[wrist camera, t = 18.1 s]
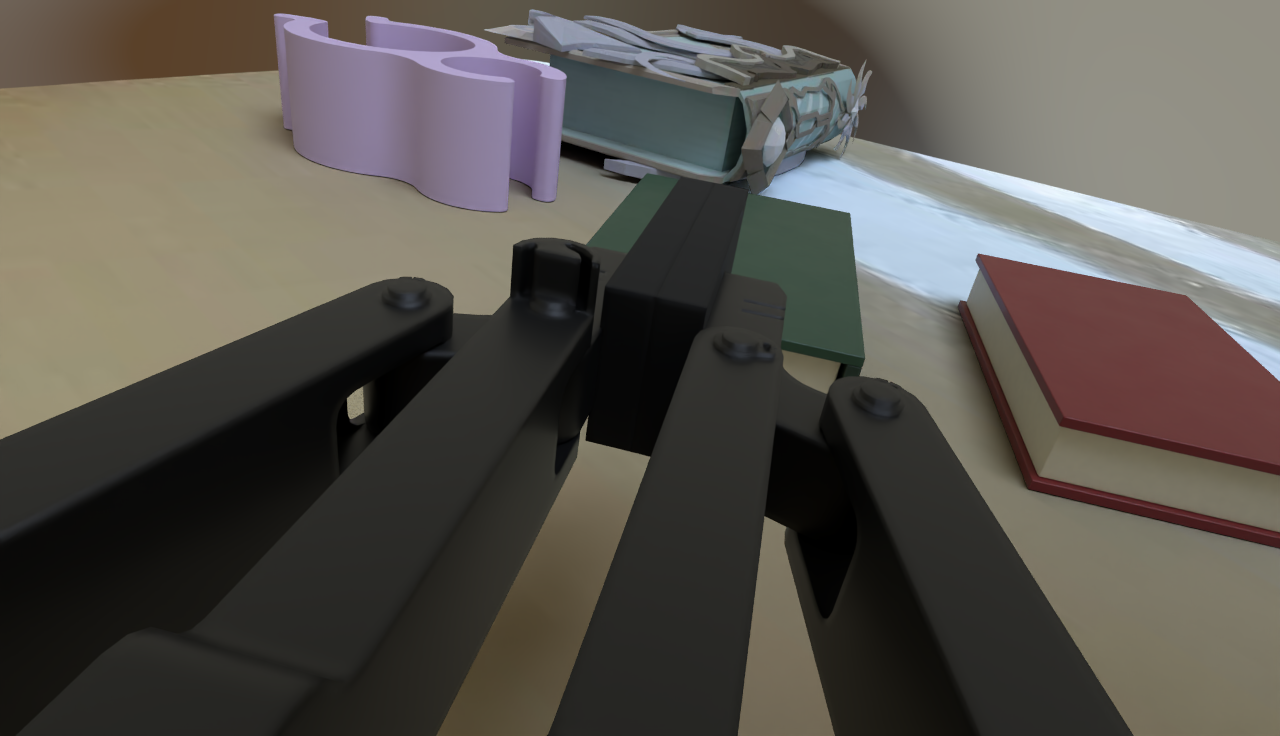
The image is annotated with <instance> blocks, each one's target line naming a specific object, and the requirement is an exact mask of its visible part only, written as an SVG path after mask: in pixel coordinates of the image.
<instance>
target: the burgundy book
mask: <svg viewBox="0 0 1280 736" xmlns="http://www.w3.org/2000/svg"><path fill="white" fill-rule="evenodd" d="M976 263H977V265H978V266H979V268H980V269H979V271H978V274H977V277H976V279H975V282H974V284H973V287H972V289H971V292H970V295H969V297H968V300H967V302H966V301H960V302H959V305H958V309H959V311H960V314H961V316H962V319H963V322H964V324H965V327H966V329H967V332H968V334H969V337H970V340H971V342H972V345H973V347H974V350H975V353H976V355H977V358H978V360H979V363H980V366H981V368H982V371H983V373H984V376H985V379H986V381H987V384H988V386H989V389H990V391H991V394H992V397H993V399H994V402H995V404H996V407H997V410H998V412H999V415H1000V417H1001V420H1002V423H1003V425H1004V428H1005V430H1006V433H1007V435H1008V438H1009V441H1010V443H1011V446H1012V448H1013V451H1014V454H1015V456H1016V459H1017V461H1018V464H1019V467H1020V469H1021V472H1022V474H1023V477H1024V479H1025V482H1026V485H1027V487H1028V489H1031V490H1035V491H1039V492H1043V493H1048V494H1052V495H1056V496H1061V497H1065V498H1069V499H1073V500H1078V501H1082V502H1086V503H1090V504H1095V505H1099V506H1103V507H1107V508H1112V509H1116V510H1120V511H1124V512H1129V513H1133V514H1137V515H1141V516H1146V517H1150V518H1154V519H1158V520H1163V521H1167V522H1171V523H1175V524H1180V525H1184V526H1188V527H1192V528H1197V529H1201V530H1205V531H1209V532H1214V533H1218V534H1222V535H1227V536H1231V537H1235V538H1239V539H1244V540H1248V541H1252V542H1256V543H1261V544H1265V545H1269V546H1273V547H1278V548H1280V381H1278V380H1277V379H1276V378H1275V377H1274V376H1273V375H1272V374H1271V373H1270V372H1269V371H1268V370H1267V369H1265V368H1264V367H1263V366H1262V365H1261V364H1260V363H1259V362H1258V361H1257V360H1256V359H1255V358H1254V357H1252V356H1251V355H1250V354H1249V353H1248V352H1247V351H1246V350H1245V349H1244V348H1243V347H1242V346H1240V345H1239V344H1238V343H1237V342H1236V341H1235V340H1234V339H1233V338H1232V337H1231V336H1230V335H1229V334H1227V333H1226V332H1225V331H1224V330H1223V329H1222V328H1221V327H1220V326H1219V325H1218V324H1217V323H1216V322H1214V321H1213V320H1212V319H1211V318H1210V317H1209V316H1208V315H1207V314H1206V313H1205V312H1204V311H1203V310H1201V309H1200V308H1199V307H1198V306H1197V305H1196V304H1195V303H1194V302H1193V301H1192V300H1191V299H1189V298H1188V297H1187V296H1186V295H1181V294H1176V293H1171V292H1166V291H1161V290H1156V289H1151V288H1146V287H1141V286H1136V285H1131V284H1126V283H1121V282H1117V281H1112V280H1107V279H1102V278H1097V277H1092V276H1087V275H1082V274H1077V273H1072V272H1067V271H1062V270H1057V269H1052V268H1047V267H1042V266H1037V265H1032V264H1027V263H1022V262H1017V261H1012V260H1007V259H1003V258H998V257H993V256H988V255H983V254H978V255H977V258H976Z"/></svg>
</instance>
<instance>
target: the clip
mask: <svg viewBox="0 0 1280 736" xmlns="http://www.w3.org/2000/svg"><path fill="white" fill-rule="evenodd" d="M274 22H275V33H276V45H277V56H278V67H279V78H280V89H281V100H282V111H283V122H284V128H286V129H290V130H292V131H293V142H294V148H295V150H296V151H297V152H298V153H299V154H301V155H302V156H304V157H305V158H307V159H309V160H311V161H314V162H316V163H319V164H322V165H325V166H328V167H332V168H336V169H340V170H344V171H349V172H355V173H361V174H368V175H376V176H384V177H390V178H394V179H398V180H402V181H405V182H407V183H409V184H411V185H413V186H415V187H416V188H417V189H418V190H419V191H420V192H421V193H422V194H423V195H425V196H427V197H429V198H431V199H433V200H435V201H438V202H441V203H444V204H448V205H451V206H456V207H460V208H466V209H472V210H480V211H492V212H504V211H507V210H508V192H509V178H511V179H515V180H518V181H520V182H523V183H525V184H527V185H528V186H530V187H531V188H532V198H534V199H536V200H540V201H545V202H551V201H554V200H555V199H556V194H557V182H558V170H559V159H560V147H561V136H562V124H563V112H564V101H565V89H566V78H567V76H566V74H565V73H564V72H562V71H560V70H558V69H556V68H553V67H550V66H547V65H544V64H540V63H536V62H532V61H528V60H523V59H518V58H514V57H510V56H506V55H504V54H502V53H500V52H498V51H497V47H496V45H494V44H492V43H491V42H489V41H486V40H484V39H481V38H478V37H474V36H471V35H467V34H463V33H459V32H455V31H450V30H444V29H439V28H434V27H427V26H421V25H414V24H407V23H399V22H392V21H388V18H383V17H376V16H367V18H366V42H367V43H366V45H367V46H366V45H359V44H354V43H348V42H344V41H338V40H335V39H331V38H328V23H327V21H324V20H319V19H315V18H309V17H302V16H296V15H289V14H274Z"/></svg>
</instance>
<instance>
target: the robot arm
mask: <svg viewBox="0 0 1280 736" xmlns="http://www.w3.org/2000/svg"><path fill="white" fill-rule="evenodd" d="M748 192H749V190H748V189H743V188H738V187H733V186H728V185H723V184H718V183H713V182H708V181H703V180H698V179H693V178H688V177H683V176H681V177H680V179H679V180H678V182H677V183H676V185H675V186H674V187H673V189H672V190H671V192H670V193H669V195H668V196H667V198H666V199H665V200H664V202H663V203H662V205H661V206H660V208H659V209H658V210H657V212H656V213H655V215H654V216H653V218H652V219H651V220H650V222H649V223H648V225H647V226H646V228H645V229H644V231H643V232H642V233H641V235H640V236H639V238H638V239H637V241H636V242H635V243H634V245H633V246H632V248H631V249H630V251H629V252H628V253H623V252H618V251H614V250H609V249H604V248H600V247H595V246H593V247H588V246H586V245H584V244H581V243H578V242H574V241H571V240H565V239H558V238H533V239H528V240H522V241H520V242H519V243H517V244H515V245H513V259H512V275H511V292H510V297H509V298H508V299H507V300H506V301H505V302H504V304H503V305H502V306H501V307H500V308H499V309H498V310H497V311H496V312H495V313H494V314H493V315H471V314H456V313H453V298H454V296H453V295H452V294H451V292H450V291H449V290H448V289H447V288H445V287H443V286H441V285H439V284H437V283H434V282H430V281H426V280H425V279H423V278H416V277H414V278H413V279H412V277H400V278H398V279H387V280H383V281H380V282H376V283H372V284H370V285H367V286H365V287H363V288H360V289H358V290H356V291H353V292H351V293H348V294H346V295H344V296H341V297H339V298H337V299H334V300H332V301H329V302H327V303H325V304H322V305H320V306H317V307H315V308H313V309H310V310H308V311H306V312H303V313H301V314H298V315H296V316H294V317H291V318H289V319H287V320H284V321H282V322H279V323H277V324H275V325H272V326H270V327H267V328H265V329H263V330H260V331H258V332H256V333H253V334H251V335H248V336H246V337H244V338H241V339H239V340H236V341H234V342H232V343H229V344H227V345H225V346H222V347H220V348H217V349H215V350H213V351H210V352H208V353H206V354H203V355H201V356H198V357H196V358H194V359H191V360H189V361H186V362H184V363H182V364H179V365H177V366H175V367H172V368H170V369H167V370H165V371H163V372H160V373H158V374H156V375H153V376H151V377H148V378H146V379H144V380H141V381H139V382H136V383H134V384H132V385H129V386H127V387H125V388H122V389H120V390H117V391H115V392H113V393H110V394H108V395H105V396H103V397H101V398H98V399H96V400H94V401H91V402H89V403H86V404H84V405H82V406H79V407H77V408H75V409H72V410H70V411H67V412H65V413H63V414H60V415H58V416H55V417H53V418H51V419H48V420H46V421H44V422H41V423H39V424H36V425H34V426H32V427H29V428H27V429H25V430H22V431H20V432H17V433H15V434H13V435H10V436H8V437H5V438H3V439H1V440H0V736H436V735H437V733H438V731H439V729H440V727H441V725H442V723H443V721H444V719H445V717H446V715H447V713H448V711H449V709H450V707H451V705H452V703H453V701H454V699H455V697H456V695H457V693H458V691H459V689H460V687H461V685H462V683H463V681H464V679H465V677H466V676H467V674H468V672H469V670H470V668H471V666H472V664H473V662H474V660H475V658H476V656H477V654H478V652H479V650H480V648H481V646H482V644H483V642H484V640H485V638H486V636H487V634H488V632H489V630H490V628H491V626H492V624H493V622H494V620H495V618H496V616H497V614H498V612H499V610H500V608H501V606H502V604H503V602H504V600H505V598H506V596H507V594H508V592H509V591H510V589H511V587H512V585H513V583H514V581H515V579H516V577H517V575H518V573H519V571H520V569H521V567H522V565H523V563H524V561H525V559H526V557H527V555H528V553H529V551H530V549H531V547H532V545H533V543H534V541H535V539H536V537H537V535H538V533H539V531H540V529H541V527H542V525H543V523H544V521H545V519H546V517H547V515H548V513H549V511H550V509H551V507H552V506H553V504H554V502H555V500H556V498H557V496H558V494H559V492H560V490H561V488H562V486H563V484H564V482H565V480H566V478H567V476H568V474H569V472H570V470H571V468H572V466H573V464H574V462H575V460H576V458H577V453H578V446H579V438H580V430H581V428H582V426H583V425H584V423H585V421H586V419H587V417H588V424H587V432H586V440H585V441H589V442H593V443H597V444H601V445H606V446H610V447H614V448H618V449H622V450H626V451H630V452H634V453H638V454H642V455H646V456H650V460H649V463H648V465H647V468H646V471H645V474H644V476H643V479H642V482H641V484H640V487H639V490H638V493H637V495H636V498H635V501H634V504H633V506H632V509H631V512H630V514H629V517H628V520H627V523H626V525H625V528H624V531H623V533H622V536H621V539H620V542H619V544H618V547H617V550H616V552H615V555H614V558H613V561H612V563H611V566H610V569H609V572H608V574H607V577H606V580H605V582H604V585H603V588H602V591H601V593H600V596H599V599H598V601H597V604H596V607H595V610H594V612H593V615H592V618H591V621H590V623H589V626H588V629H587V631H586V634H585V637H584V640H583V642H582V645H581V648H580V650H579V653H578V656H577V659H576V661H575V664H574V667H573V669H572V672H571V675H570V678H569V680H568V683H567V686H566V689H565V691H564V694H563V697H562V699H561V702H560V705H559V708H558V710H557V713H556V716H555V718H554V721H553V723H552V726H551V728H550V731H549V733H548V735H547V736H738V728H739V719H740V711H741V703H742V695H743V687H744V678H745V670H746V662H747V654H748V646H749V638H750V629H751V621H752V613H753V605H754V597H755V589H756V580H757V572H758V564H759V556H760V548H761V539H762V531H763V523H764V516H766V517H768V518H770V519H772V520H774V521H776V522H778V523H780V524H782V525H784V526H786V531H785V547H786V551H787V555H788V559H789V563H790V566H791V570H792V574H793V578H794V582H795V585H796V589H797V593H798V597H799V601H800V604H801V608H802V612H803V616H804V620H805V623H806V627H807V631H808V635H809V639H810V642H811V646H812V650H813V654H814V658H815V661H816V665H817V669H818V673H819V676H820V680H821V684H822V688H823V692H824V695H825V699H826V703H827V707H828V711H829V714H830V718H831V722H832V726H833V730H834V733H835V736H1134V735H1133V734H1132V732H1131V731H1130V729H1129V728H1128V726H1127V724H1126V723H1125V721H1124V720H1123V718H1122V717H1121V715H1120V713H1119V712H1118V710H1117V709H1116V707H1115V706H1114V704H1113V702H1112V701H1111V699H1110V698H1109V696H1108V694H1107V693H1106V691H1105V690H1104V688H1103V687H1102V685H1101V683H1100V682H1099V680H1098V679H1097V677H1096V676H1095V674H1094V672H1093V671H1092V669H1091V668H1090V666H1089V665H1088V663H1087V661H1086V660H1085V658H1084V657H1083V655H1082V653H1081V652H1080V650H1079V649H1078V647H1077V646H1076V644H1075V642H1074V641H1073V639H1072V638H1071V636H1070V635H1069V633H1068V631H1067V630H1066V628H1065V627H1064V625H1063V624H1062V622H1061V620H1060V619H1059V617H1058V616H1057V614H1056V612H1055V611H1054V609H1053V608H1052V606H1051V605H1050V603H1049V601H1048V600H1047V598H1046V597H1045V595H1044V594H1043V592H1042V590H1041V589H1040V587H1039V586H1038V584H1037V583H1036V581H1035V579H1034V578H1033V576H1032V575H1031V573H1030V571H1029V570H1028V568H1027V567H1026V565H1025V564H1024V562H1023V560H1022V559H1021V557H1020V556H1019V554H1018V553H1017V551H1016V549H1015V548H1014V546H1013V545H1012V543H1011V541H1010V540H1009V538H1008V537H1007V535H1006V534H1005V532H1004V530H1003V529H1002V527H1001V526H1000V524H999V523H998V521H997V519H996V518H995V516H994V515H993V513H992V512H991V510H990V508H989V507H988V505H987V504H986V502H985V500H984V499H983V497H982V496H981V494H980V493H979V491H978V489H977V488H976V486H975V485H974V483H973V482H972V480H971V478H970V477H969V475H968V474H967V472H966V471H965V469H964V467H963V466H962V464H961V463H960V461H959V459H958V458H957V456H956V455H955V453H954V452H953V450H952V448H951V447H950V445H949V444H948V442H947V441H946V439H945V437H944V436H943V434H942V433H941V431H940V430H939V428H938V426H937V425H936V423H935V422H934V420H933V418H932V417H931V415H930V414H929V412H928V411H927V409H926V407H925V406H924V405H923V404H922V403H921V402H920V401H919V400H918V399H917V398H916V397H915V396H914V395H912V394H911V393H909V392H907V391H906V390H904V389H903V388H901V386H899V385H897V384H895V383H892V382H890V383H888V381H887V380H884V379H880V378H875V379H874V378H869V377H862V376H848V377H844V378H841V379H837V380H835V381H834V382H833V383H832V385H831V386H830V387H829V390H828V393H827V394H826V393H823V392H821V391H818V390H816V389H813V388H811V387H809V386H807V385H805V384H803V383H801V382H800V381H798V380H797V379H795V378H794V377H792V376H791V375H790V374H789V373H788V372H787V371H786V370H785V369H784V367H783V360H784V356H783V353H782V349H781V341H782V333H783V325H784V317H785V309H786V302H787V295H786V294H785V293H784V291H783V290H782V289H781V287H780V286H779V285H778V283H774V282H769V281H765V280H760V279H755V278H750V277H746V276H741V275H736V274H732V273H731V272H732V267H733V262H734V258H735V253H736V248H737V244H738V239H739V234H740V230H741V225H742V220H743V215H744V211H745V206H746V201H747V197H748ZM361 387H363V397H364V413H362V414H361V415H359V416H357V417H356V418H353V419H349V416H348V411H347V398H348V397H349V396H350V395H351V394H352V393H353V392H354V391H356V390H357V389H359V388H361ZM588 415H589V416H588Z"/></svg>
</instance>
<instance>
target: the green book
mask: <svg viewBox="0 0 1280 736" xmlns="http://www.w3.org/2000/svg"><path fill="white" fill-rule="evenodd" d="M678 180H679V179H675V178H670V177H665V176H660V175H655V174H650V173H647V174H646V175H645V176H644V177H643V178H642V179H641V181H640V182H639V183H638V184H637V185H636V187H635V188H634V189H633V190H632V191H631V192H630V194H629V195H628V196H627V197H626V198H625V200H624V201H623V202H622V203H621V204H620V205H619V207H618V208H617V209H616V210H615V211H614V213H613V214H612V215H611V216H610V217H609V218H608V220H607V221H606V222H605V223H604V224H603V226H602V227H601V228H600V229H599V230H598V231H597V233H596V234H595V235H594V236H593V237H592V239H591V240H590V241H589V242H588V243H587V244H586V246H588V247H593V246H595V247H600V248H604V249H609V250H614V251H618V252H623V253H628V252H629V251H630V249H631V248H632V246H633V245H634V243H635V242H636V241H637V239H638V238H639V236H640V235H641V233H642V232H643V231H644V229H645V228H646V226H647V225H648V223H649V222H650V220H651V219H652V218H653V216H654V215H655V213H656V212H657V210H658V209H659V208H660V206H661V205H662V203H663V202H664V200H665V199H666V198H667V196H668V195H669V193H670V192H671V190H672V189H673V187H674V186H675V185H676V183H677V182H678ZM731 273H732V274H736V275H741V276H746V277H750V278H755V279H760V280H765V281H769V282H774V283H778V285H779V286H780V287H781V289H782V290H783V291H784V293H785V294H786V295H787V302H786V309H785V317H784V325H783V333H782V341H781V349H782V353H783V356H784V360H783V367H784V369H785V370H786V371H787V372H788V373H789V374H790V375H791V376H792V377H794V378H795V379H797V380H798V381H800V382H801V383H803V384H805V385H807V386H809V387H811V388H813V389H816V390H818V391H821V392H823V393H826V394H827V393H828V390H829V387H830V386H831V385H832V383H833V382H834V381H835V380H837V379H841V378H844V377H848V376H859V375H860V372H861V367H862V366H863V363H864V360H865V353H864V344H863V334H862V324H861V314H860V305H859V295H858V285H857V276H856V266H855V256H854V247H853V237H852V227H851V217H850V213H846V212H841V211H836V210H831V209H826V208H821V207H816V206H811V205H806V204H801V203H796V202H791V201H786V200H781V199H776V198H771V197H765V196H760V195H755V194H750V193H748V197H747V201H746V206H745V211H744V215H743V220H742V225H741V230H740V234H739V239H738V244H737V248H736V253H735V258H734V262H733V267H732V272H731Z"/></svg>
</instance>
